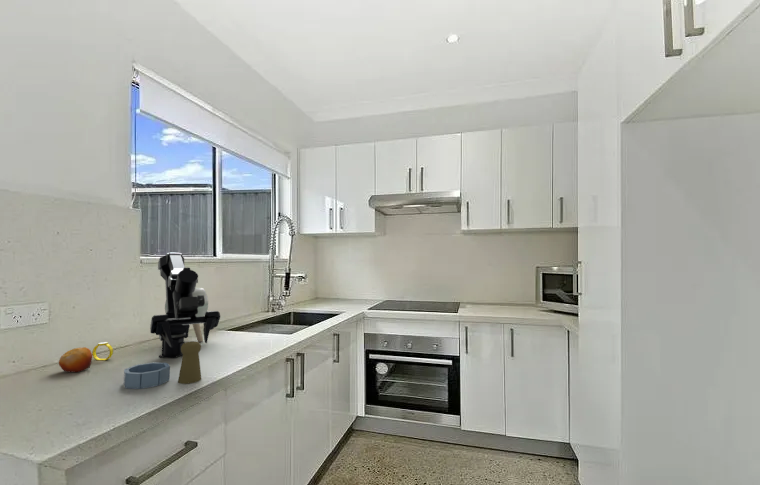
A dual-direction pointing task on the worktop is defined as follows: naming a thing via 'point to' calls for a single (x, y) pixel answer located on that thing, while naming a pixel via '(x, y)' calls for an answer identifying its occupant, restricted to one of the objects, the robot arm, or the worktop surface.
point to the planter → (201, 311)
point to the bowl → (146, 375)
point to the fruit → (76, 360)
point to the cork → (190, 363)
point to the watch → (102, 345)
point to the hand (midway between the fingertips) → (189, 344)
